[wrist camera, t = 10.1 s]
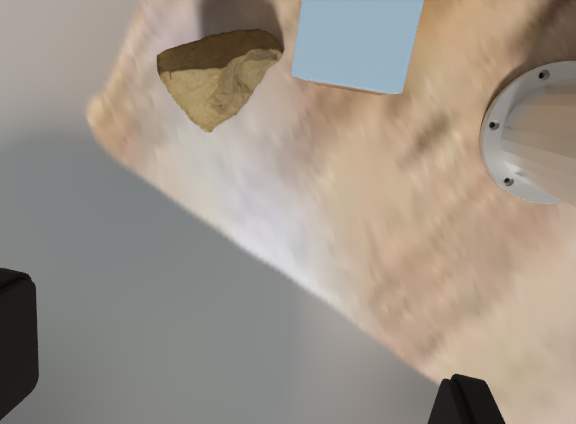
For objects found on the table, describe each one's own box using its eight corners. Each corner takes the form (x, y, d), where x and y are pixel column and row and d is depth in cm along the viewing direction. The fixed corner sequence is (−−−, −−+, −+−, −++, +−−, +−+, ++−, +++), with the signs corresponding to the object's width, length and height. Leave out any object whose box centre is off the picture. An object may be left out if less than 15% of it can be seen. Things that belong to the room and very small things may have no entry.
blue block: (414, -5, 25) (432, -36, 19) (391, 94, 27) (402, 93, 21) (319, -18, 26) (310, -51, 20) (304, 79, 27) (290, 75, 22)
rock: (273, -8, 35) (163, 13, 36) (280, 42, 30) (151, 66, 30) (290, 95, 43) (201, 111, 44) (298, 148, 38) (197, 166, 39)
